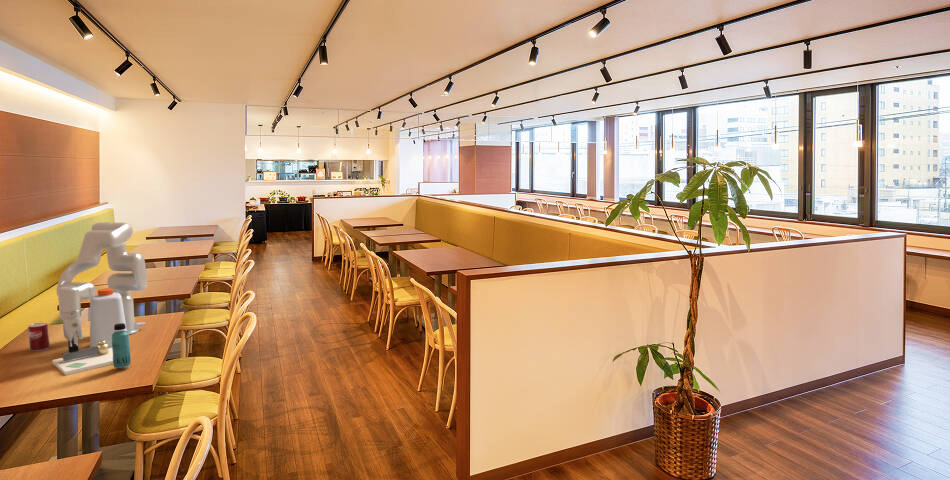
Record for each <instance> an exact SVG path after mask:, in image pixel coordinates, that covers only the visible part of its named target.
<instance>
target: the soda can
mask: <svg viewBox="0 0 950 480" xmlns="http://www.w3.org/2000/svg"><path fill="white" fill-rule="evenodd" d="M27 332H28V333H27V334H28V342H29V344H28V345H29V350H30V351H31V352H42V351H45V350H46V351H47V350H48V349H49V348H50V347H51V345H50V344H51V343H50V334H49V325H48V323H47V322H36V323H31V324H29V325H28V326H27Z"/></svg>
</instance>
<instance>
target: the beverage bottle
mask: <svg viewBox="0 0 950 480" xmlns="http://www.w3.org/2000/svg"><path fill="white" fill-rule="evenodd" d="M125 328H126V327H125V324H124V323H119V324H115V325H114V330H121V331H116V332H114V333H113V334H112V349H113V364H112V365H113V368H115V369H122V368H128V367H129V366H131V361H132V360H131V358H132V357H131V348H130V346H131V345H130V334H129V333H128V332H127V331H124V330H123V329H125Z"/></svg>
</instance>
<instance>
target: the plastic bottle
mask: <svg viewBox="0 0 950 480" xmlns="http://www.w3.org/2000/svg"><path fill="white" fill-rule="evenodd" d="M89 301H90V302H89V348H91V347H96V345H97V344H98V341H101V340H105V341H106V343H108V348H111V347H112V334H113V333H114V332H116V331H121V330H114V325H115V324H119V323H124V324H125V327H126V323H125V316H124V310H123V303H122V297H121V295H120V294H119V293H113V289H111V288H101V289H98V290H97V293H95V294H94V296H92V297H91V298H89ZM123 330H124V331H127V329H126V328H125V329H123Z"/></svg>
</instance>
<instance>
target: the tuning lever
mask: <svg viewBox="0 0 950 480" xmlns="http://www.w3.org/2000/svg"><path fill="white" fill-rule="evenodd" d="M106 353H108V343H106V341H105V340H101V341H98V344H97V345H96V347H91V348H90V347H88V348H82V349H78V350H77V351H72V352H69V351H68V352H64V353H62V358H63V361H68V360H73V359H78V358H82V357H87V356H91V355H96V354H98V355H101V354H106Z"/></svg>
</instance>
